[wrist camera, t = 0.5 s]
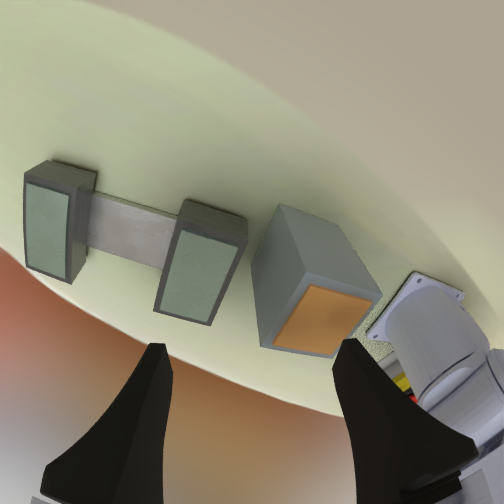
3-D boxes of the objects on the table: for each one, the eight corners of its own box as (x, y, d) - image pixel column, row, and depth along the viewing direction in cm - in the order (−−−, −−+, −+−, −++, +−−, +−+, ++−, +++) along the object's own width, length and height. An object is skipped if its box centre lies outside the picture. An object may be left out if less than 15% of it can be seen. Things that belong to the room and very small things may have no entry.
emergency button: (397, 426, 34) (350, 412, 27) (389, 404, 37) (340, 381, 31) (449, 393, 30) (421, 367, 24) (438, 371, 34) (405, 337, 28)
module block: (337, 225, 20) (384, 297, 13) (305, 280, 22) (332, 361, 15) (279, 203, 19) (307, 274, 12) (250, 265, 21) (260, 349, 14)
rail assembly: (252, 217, 19) (257, 244, 16) (218, 296, 22) (217, 330, 19) (45, 156, 15) (16, 172, 12) (41, 241, 18) (19, 266, 15)
